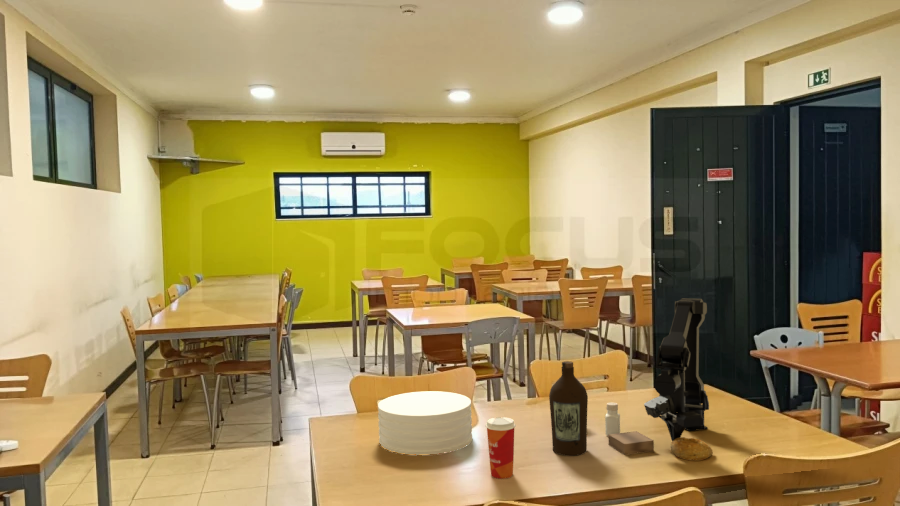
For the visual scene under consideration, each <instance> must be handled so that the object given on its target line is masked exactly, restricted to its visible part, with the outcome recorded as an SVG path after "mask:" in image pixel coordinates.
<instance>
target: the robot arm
mask: <svg viewBox="0 0 900 506" xmlns="http://www.w3.org/2000/svg"><path fill="white" fill-rule="evenodd" d="M707 313H708V305H707V302H704V300H703V299H702V298H681V299H679V300H677V301H676V300H675V301H674V316H673V319H672V324H671V326H670V330H669V334H668V335H665V337H663V339H662V341H661V344H660V345H659V346H658V350H657V355H656V362H655V369H657V370H658V369H659V370H661V371H660V374H658V375H657V376H656V377H655V379H654V382H653V386H654V390H655V391H656V393H658V394H659V396H657V397H654V398H652V399H650V400H648V401H646V402H644V403H643V406H644V408H645V412H646V413H647V416H650V417H652V418H654V419H658V418H659V419H661V420H662V421H663V422H665V425H666V427H667V430H668V433H669V436H670V438H671V442H672V441H673V440H675V439H677V438H681V437H682V435H683V433H684V431H685V430H686V431H688V432H694V431H703V430H708V429H709V428H708V426H706V425H705V411H707V410H708V411H709V410H710V404H709V403H710V402H709V397H708V395H707V392H706V390H705V384H704V383H703V380H702V379H701V378H700V376H699V375H700V374H699V367H700V366H699V363H700V361H699V357H700V354H699V353H700V328H701V326H702V325H703V322H704V321H705V318H706V314H707Z"/></svg>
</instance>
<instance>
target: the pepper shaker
mask: <svg viewBox="0 0 900 506" xmlns="http://www.w3.org/2000/svg"><path fill="white" fill-rule="evenodd" d="M606 411H607V412H606V414H605V415H604V416H605V417H604V422H605V423H604V425H605V428H604V429H605V436H606V437H608V435H609V434H617V433H621V414H620V413H618V412H619V405H618V403H617V402H607V403H606Z"/></svg>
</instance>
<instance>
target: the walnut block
mask: <svg viewBox="0 0 900 506" xmlns="http://www.w3.org/2000/svg"><path fill="white" fill-rule="evenodd" d="M607 437H608V445H609V447H611V448H613V449H615V450H616V451H618V452H620V453H621V454H623V455H625V456H627V455H634V454H641V453H649V452H655V450H654V449H655V448H654V447H655V446H654V445H655V444H654V443H655V441H654V439H652V438H650V437H648V436H647V435H645V434H643V433H641V432H639V431H637V430H634V431H625V432H620V433H617V434H609V435H608V436H607Z"/></svg>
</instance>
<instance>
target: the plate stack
mask: <svg viewBox="0 0 900 506" xmlns="http://www.w3.org/2000/svg"><path fill="white" fill-rule="evenodd" d="M377 411H378V413H377V414H378V416H377V417H378V437H379V438H378V440H379V441H378V442H379V443H380V444H381V446H383V447H384V448H386V449H388V450H391V451H395V452H398V453H405V454H416V455H415V456H417V455H419V454H437V455H439V454H438V453H444V452H449V453H451V452H450V451H453V452H455V451H454V450H456V451H458V450H457V449H459V450H461V449H460V448H462V449H463V447H464V448H465V446H466V445H467V446H469V445H470V444H471V443H472V442H473V434H472V432H473V426H472V423H473V421H472V419H473V418H472V399H471V398H469V397H468V396H466V395H464V394H460V393H456V392H450V391H440V390H439V391H437V390H432V391H430V390H429V391H427V390H424V391H412V392H404V393H400V394H395V395H391V396H388V397H385V398H384V399H382V400H380V401H379V402H378V403H377ZM470 442H471V443H470ZM469 443H470V444H469ZM380 444H379V445H380ZM468 444H469V445H468ZM381 446H380V447H381ZM467 446H466V447H467ZM444 454H445V453H444Z"/></svg>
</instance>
